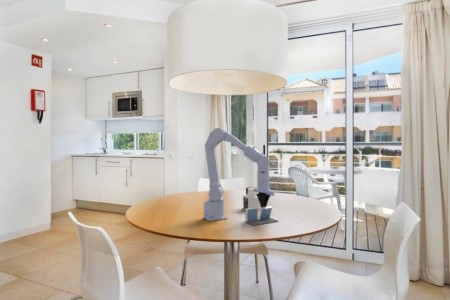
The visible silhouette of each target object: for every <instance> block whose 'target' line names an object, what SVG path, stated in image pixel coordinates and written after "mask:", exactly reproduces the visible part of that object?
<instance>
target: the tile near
mask: <svg viewBox="0 0 450 300" xmlns="http://www.w3.org/2000/svg"><path fill="white" fill-rule="evenodd" d="M244 212H245V214H244V219H245V223H246V222H247V221H253V220H259V219H258V214H259V210H258V208H256V207H254V208H247V209H244Z"/></svg>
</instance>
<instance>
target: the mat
mask: <svg viewBox="0 0 450 300" xmlns="http://www.w3.org/2000/svg"><path fill="white" fill-rule="evenodd" d="M277 222H279V220H278V219H274V218H272V217H270V218H265V219H258V220H253V221H247V222H245V223H246V224H248V225H250V226H253V227H256V226H261V225H265V224H267V225H268V224H272V223H277Z"/></svg>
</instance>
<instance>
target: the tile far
mask: <svg viewBox="0 0 450 300" xmlns="http://www.w3.org/2000/svg"><path fill="white" fill-rule="evenodd" d="M272 209H273V207H272V206H270V205H267V206H266V207H261V206H260V209H259V210H258V220H259V219H265V218H271V215H272V214H271V213H272Z"/></svg>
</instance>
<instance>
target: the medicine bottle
mask: <svg viewBox="0 0 450 300" xmlns="http://www.w3.org/2000/svg"><path fill="white" fill-rule="evenodd" d="M253 188H255V187H254V186H253V187H252V186H249V187H246V188H245V195H242V201H243V202H242V204H243V205H242V206H243V209H244V210H245V209H247V208H254V207H256V208H258V211H259V210H260V207H261V206H260V202H259V200H258V197H257V196H256V194H258V192H253Z"/></svg>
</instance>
